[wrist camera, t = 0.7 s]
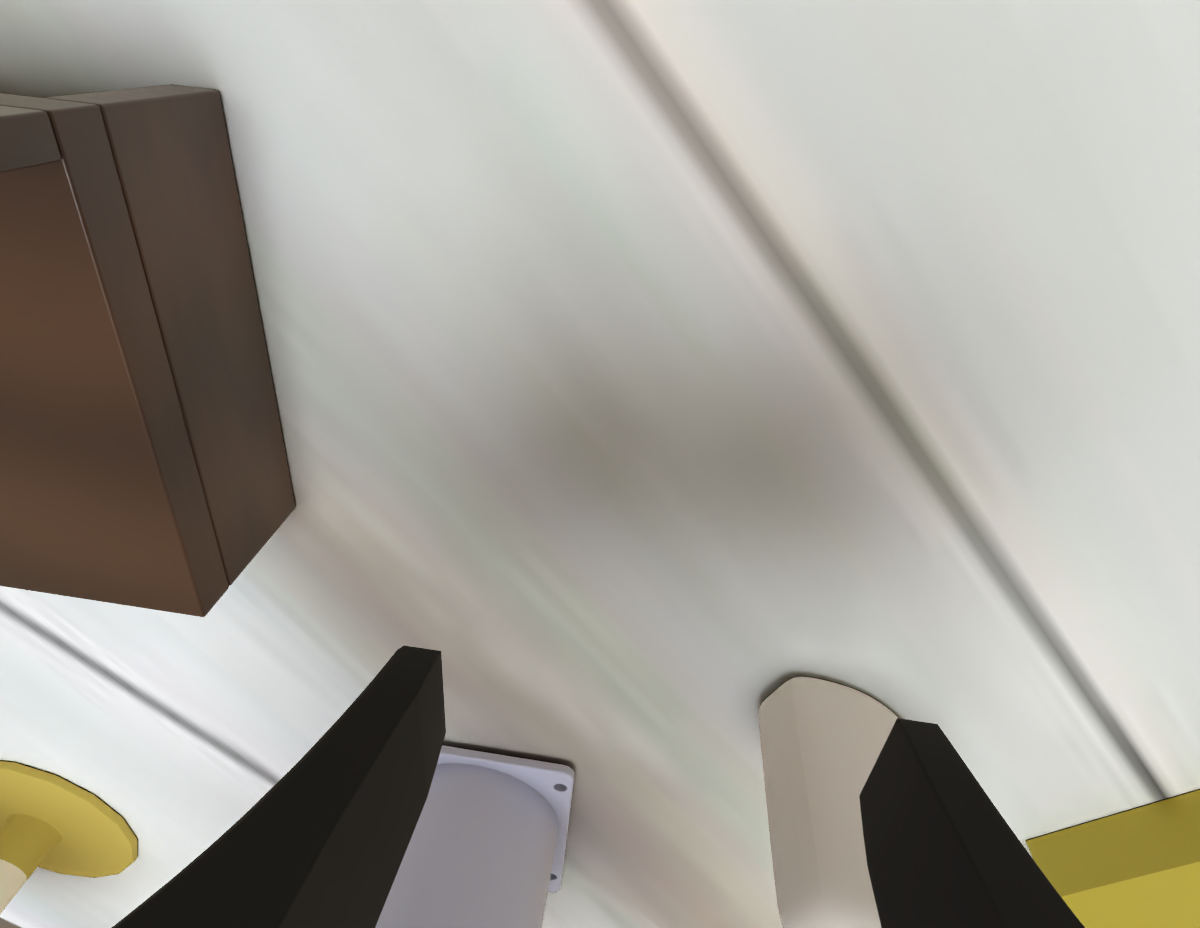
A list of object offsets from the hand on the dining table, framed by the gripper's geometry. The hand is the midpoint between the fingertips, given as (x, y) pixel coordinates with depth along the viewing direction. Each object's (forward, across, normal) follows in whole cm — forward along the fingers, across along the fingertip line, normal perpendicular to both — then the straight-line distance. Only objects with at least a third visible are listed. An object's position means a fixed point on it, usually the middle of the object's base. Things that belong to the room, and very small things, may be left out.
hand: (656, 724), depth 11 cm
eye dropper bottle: (+10, -7, +11) cm, 16 cm away
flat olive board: (+10, -29, +20) cm, 37 cm away
